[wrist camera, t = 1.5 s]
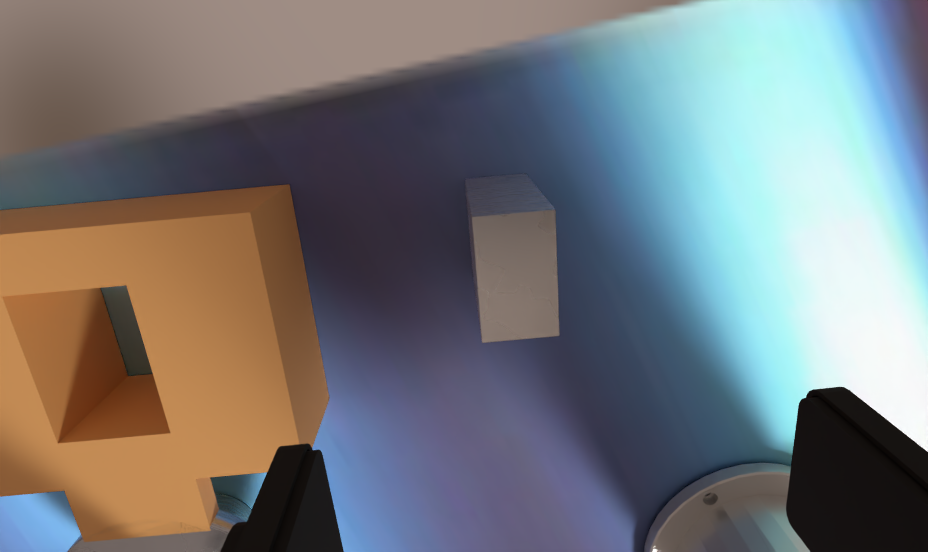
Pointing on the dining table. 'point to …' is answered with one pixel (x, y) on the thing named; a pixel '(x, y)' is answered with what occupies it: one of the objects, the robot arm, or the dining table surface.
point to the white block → (513, 258)
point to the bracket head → (154, 353)
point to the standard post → (177, 548)
